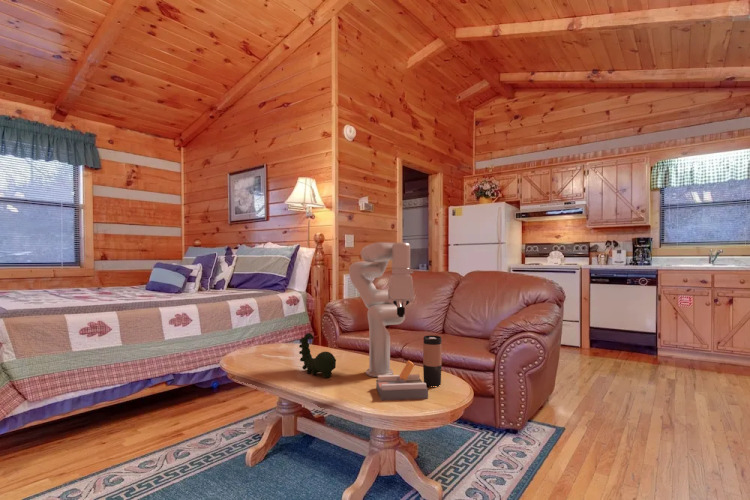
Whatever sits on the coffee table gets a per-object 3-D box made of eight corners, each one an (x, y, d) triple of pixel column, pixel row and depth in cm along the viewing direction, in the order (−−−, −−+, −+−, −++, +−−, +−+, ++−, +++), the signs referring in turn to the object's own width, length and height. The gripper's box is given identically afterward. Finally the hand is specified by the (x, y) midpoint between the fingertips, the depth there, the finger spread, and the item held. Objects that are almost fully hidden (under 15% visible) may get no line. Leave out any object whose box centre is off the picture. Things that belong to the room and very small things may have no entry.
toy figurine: (295, 374, 187) (328, 381, 170) (293, 333, 189) (326, 336, 171) (311, 370, 194) (345, 377, 176) (310, 331, 195) (343, 333, 178)
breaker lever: (396, 379, 160) (407, 359, 161) (401, 382, 160) (412, 362, 161) (398, 383, 156) (410, 362, 156) (403, 386, 156) (415, 365, 156)
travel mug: (439, 381, 173) (439, 335, 173) (443, 387, 165) (443, 338, 165) (421, 381, 172) (422, 335, 173) (424, 387, 165) (424, 338, 165)
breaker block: (376, 388, 164) (376, 375, 164) (419, 386, 166) (419, 373, 166) (381, 400, 150) (381, 386, 150) (428, 398, 152) (428, 384, 152)
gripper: (416, 272, 170) (416, 315, 170) (381, 272, 169) (381, 315, 168) (420, 272, 163) (420, 318, 163) (384, 272, 161) (384, 318, 161)
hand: (400, 316), depth 165 cm, fingers closed
